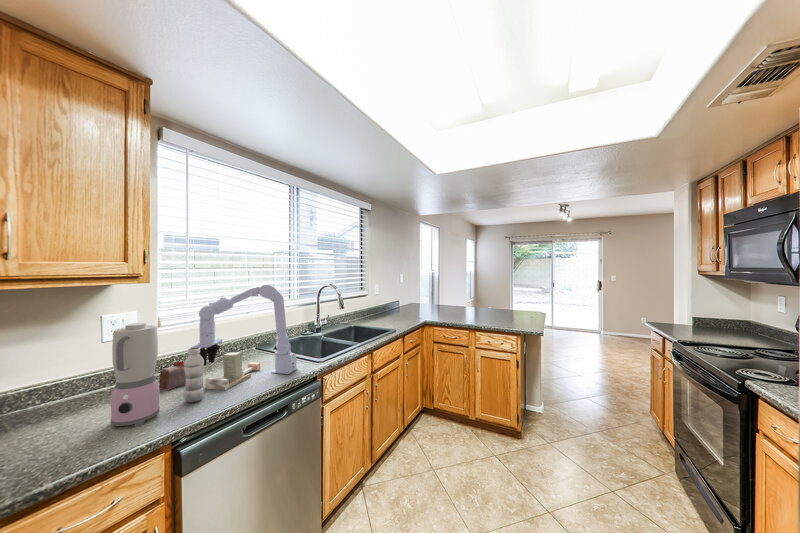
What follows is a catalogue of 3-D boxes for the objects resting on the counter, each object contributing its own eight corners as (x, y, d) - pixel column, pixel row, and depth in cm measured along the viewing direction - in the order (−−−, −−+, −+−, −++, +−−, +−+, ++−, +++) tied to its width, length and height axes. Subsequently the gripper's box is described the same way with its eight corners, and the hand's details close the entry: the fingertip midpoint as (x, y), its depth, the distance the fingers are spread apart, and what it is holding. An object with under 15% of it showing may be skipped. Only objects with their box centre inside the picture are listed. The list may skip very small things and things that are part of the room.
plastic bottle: (194, 405, 109) (194, 351, 109) (179, 403, 110) (178, 350, 110) (208, 398, 115) (208, 346, 115) (194, 396, 116) (194, 345, 116)
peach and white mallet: (260, 368, 147) (260, 360, 147) (244, 377, 136) (244, 368, 136) (251, 368, 148) (251, 360, 148) (234, 376, 137) (234, 367, 137)
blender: (125, 413, 103) (125, 322, 103) (166, 408, 106) (166, 320, 106) (92, 438, 88) (92, 331, 88) (142, 432, 91) (142, 328, 91)
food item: (189, 377, 137) (189, 356, 137) (201, 379, 135) (201, 357, 135) (157, 388, 124) (157, 365, 124) (170, 391, 122) (170, 367, 122)
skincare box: (242, 378, 135) (242, 352, 135) (236, 382, 130) (236, 355, 130) (229, 378, 135) (229, 351, 135) (222, 382, 131) (222, 354, 131)
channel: (251, 376, 137) (251, 368, 137) (225, 390, 122) (225, 380, 122) (232, 375, 139) (232, 366, 139) (205, 388, 124) (205, 378, 124)
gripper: (213, 329, 138) (213, 358, 138) (184, 336, 124) (184, 368, 124) (226, 329, 137) (226, 359, 137) (198, 337, 123) (198, 369, 122)
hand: (207, 363), depth 130 cm, fingers open, 4 cm apart
